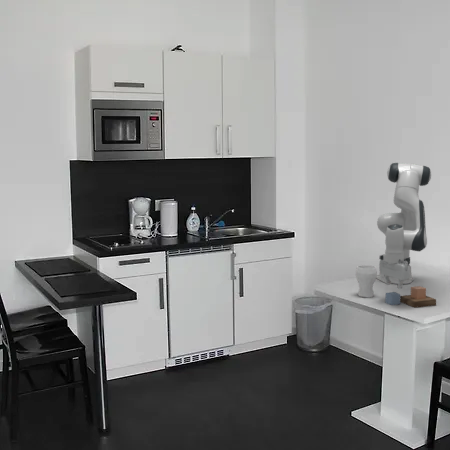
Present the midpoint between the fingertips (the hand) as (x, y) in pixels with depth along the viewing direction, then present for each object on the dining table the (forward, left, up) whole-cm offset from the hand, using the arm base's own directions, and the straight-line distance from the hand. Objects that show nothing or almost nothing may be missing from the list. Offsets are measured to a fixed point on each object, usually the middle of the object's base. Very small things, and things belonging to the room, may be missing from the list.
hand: (393, 286), depth 301 cm
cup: (-19, -4, -9) cm, 21 cm away
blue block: (-1, 0, -9) cm, 9 cm away
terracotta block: (+4, +11, -6) cm, 13 cm away
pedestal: (+4, +11, -9) cm, 15 cm away
